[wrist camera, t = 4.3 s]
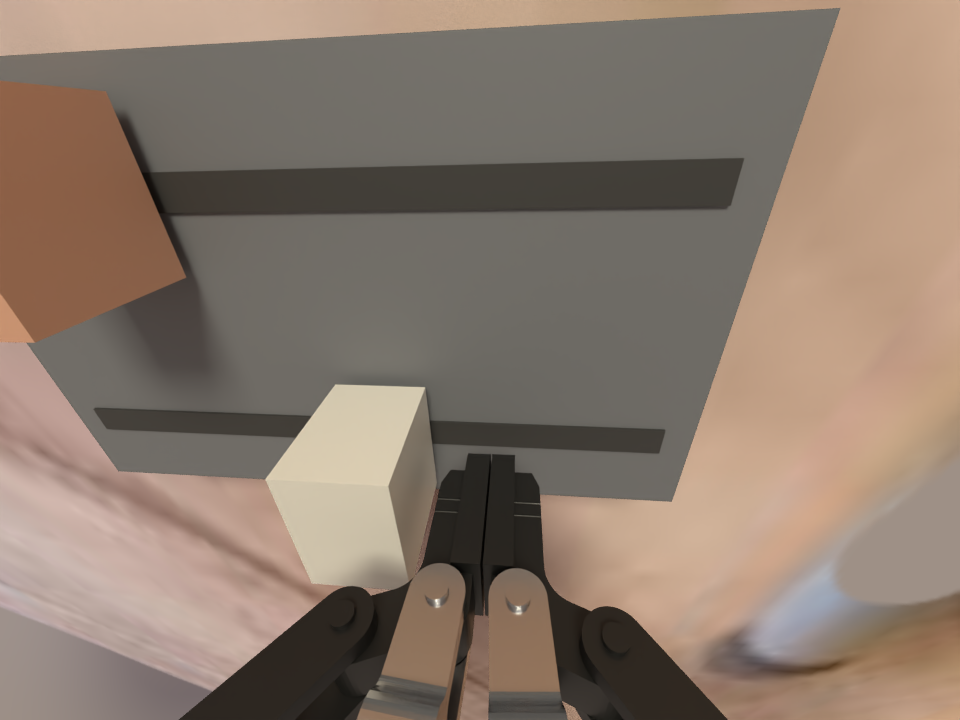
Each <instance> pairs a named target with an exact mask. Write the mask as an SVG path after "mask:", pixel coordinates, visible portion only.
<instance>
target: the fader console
mask: <svg viewBox="0 0 960 720" xmlns="http://www.w3.org/2000/svg"><path fill="white" fill-rule="evenodd" d="M839 11H840V8H833V9H816V10H798V11H781V12H763V13H746V14H728V15H711V16H693V17H676V18H658V19H641V20H623V21H606V22H588V23H571V24H553V25H536V26H518V27H501V28H483V29H466V30H448V31H431V32H413V33H396V34H378V35H361V36H343V37H326V38H308V39H291V40H273V41H256V42H238V43H221V44H203V45H186V46H168V47H151V48H133V49H116V50H98V51H81V52H63V53H46V54H28V55H11V56H0V81H9V82H19V83H29V84H39V85H49V86H58V87H68V88H78V89H88V90H98V91H106V93H107V95H108V97H109V99H110V102H111V104H112V106H113V109H114V111H115V113H116V116H117V118H118V120H119V123H120V125H121V127H122V130H123V132H124V134H125V137H126V139H127V141H128V143H129V146H130V148H131V150H132V153H133V155H134V157H135V160H136V162H137V164H138V167H139V169H140V171H141V174H142V176H143V178H144V180H145V183H146V185H147V187H148V190H149V192H150V194H151V197H152V199H153V201H154V204H155V206H156V208H157V211H158V213H159V215H160V218H161V220H162V222H163V224H164V227H165V229H166V231H167V234H168V236H169V238H170V241H171V243H172V245H173V248H174V250H175V252H176V255H177V257H178V259H179V261H180V264H181V266H182V268H183V271H184V273H185V275H186V278H184V279H182V280H179V281H177V282H175V283H172V284H170V285H168V286H165V287H163V288H161V289H158V290H156V291H154V292H151V293H149V294H147V295H144V296H142V297H140V298H138V299H135V300H133V301H131V302H128V303H126V304H124V305H121V306H119V307H117V308H114V309H112V310H110V311H107V312H105V313H103V314H100V315H98V316H96V317H93V318H91V319H89V320H86V321H84V322H82V323H79V324H77V325H75V326H73V327H70V328H68V329H66V330H63V331H61V332H59V333H56V334H54V335H52V336H49V337H47V338H45V339H42V340H40V341H38V342H35V343H27V342H26V343H27V344H28V346H29V347H30V348H31V350H32V351H33V353H34V354H35V355H36V357H37V358H38V360H39V361H40V362H41V364H42V365H43V367H44V368H45V369H46V371H47V372H48V374H49V375H50V376H51V378H52V379H53V380H54V382H55V383H56V385H57V386H58V387H59V389H60V390H61V392H62V393H63V394H64V396H65V397H66V399H67V400H68V401H69V403H70V404H71V406H72V407H73V408H74V410H75V411H76V413H77V414H78V415H79V417H80V418H81V420H82V421H83V422H84V424H85V425H86V427H87V428H88V429H89V431H90V432H91V433H92V435H93V436H94V438H95V439H96V440H97V442H98V443H99V445H100V446H101V447H102V449H103V450H104V452H105V453H106V454H107V456H108V457H109V459H110V460H111V461H112V463H113V464H114V466H115V467H116V468H117V470H118V471H125V472H143V473H161V474H179V475H198V476H216V477H234V478H252V479H266V478H267V476H268V475H269V474H270V472H271V471H272V470H273V468H274V467H275V466H276V464H277V463H278V461H279V460H280V459H281V457H282V456H283V455H284V453H285V452H286V451H287V449H288V448H289V447H290V445H291V444H292V443H293V441H294V440H295V438H296V437H297V436H298V434H299V433H300V432H301V430H302V429H303V428H304V426H305V425H306V424H307V422H308V421H309V419H310V418H311V417H312V415H313V414H314V413H315V411H316V410H317V409H318V407H319V406H320V405H321V403H322V402H323V401H324V399H325V398H326V396H327V395H328V394H329V392H330V391H331V390H332V388H333V387H334V386H335V384H336V385H369V386H402V387H425V389H426V397H427V406H428V414H429V422H430V430H431V438H432V447H433V455H434V463H435V471H436V480H437V484H436V489H440V486H441V482H442V481H443V479H444V478H445V477H446V475H447V474H448V473H449V471H450V470H465V467H466V461H467V455H468V453H473V454H491V463H492V454H501V455H515V472H519V473H532V474H533V476H534V478H535V480H536V482H537V483H538V485H539V488H540V494H542V495H560V496H579V497H597V498H615V499H633V500H651V501H669V502H672V499H673V496H674V494H675V491H676V488H677V485H678V482H679V479H680V476H681V473H682V470H683V467H684V464H685V461H686V458H687V455H688V453H689V450H690V447H691V444H692V441H693V438H694V435H695V432H696V429H697V426H698V423H699V420H700V417H701V415H702V412H703V409H704V406H705V403H706V400H707V397H708V394H709V391H710V388H711V385H712V382H713V379H714V376H715V374H716V371H717V368H718V365H719V362H720V359H721V356H722V353H723V350H724V347H725V344H726V341H727V338H728V336H729V333H730V330H731V327H732V324H733V321H734V318H735V315H736V312H737V309H738V306H739V303H740V300H741V297H742V295H743V292H744V289H745V286H746V283H747V280H748V277H749V274H750V271H751V268H752V265H753V262H754V259H755V257H756V254H757V251H758V248H759V245H760V242H761V239H762V236H763V233H764V230H765V227H766V224H767V221H768V218H769V216H770V213H771V210H772V207H773V204H774V201H775V198H776V195H777V192H778V189H779V186H780V183H781V180H782V178H783V175H784V172H785V169H786V166H787V163H788V160H789V157H790V154H791V151H792V148H793V145H794V142H795V139H796V137H797V134H798V131H799V128H800V125H801V122H802V119H803V116H804V113H805V110H806V107H807V104H808V101H809V99H810V96H811V93H812V90H813V87H814V84H815V81H816V78H817V75H818V72H819V69H820V66H821V63H822V60H823V58H824V55H825V52H826V49H827V46H828V43H829V40H830V37H831V34H832V31H833V28H834V25H835V22H836V20H837V17H838V14H839Z"/></svg>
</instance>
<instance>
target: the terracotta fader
mask: <svg viewBox="0 0 960 720" xmlns="http://www.w3.org/2000/svg"><path fill="white" fill-rule="evenodd" d="M184 278H186V275H185V273H184V271H183V268H182V266H181V264H180V261H179V259H178V257H177V255H176V252H175V250H174V248H173V245H172V243H171V241H170V238H169V236H168V234H167V231H166V229H165V227H164V224H163V222H162V220H161V218H160V215H159V213H158V211H157V208H156V206H155V204H154V201H153V199H152V197H151V194H150V192H149V190H148V187H147V185H146V183H145V180H144V178H143V176H142V174H141V171H140V169H139V167H138V164H137V162H136V160H135V157H134V155H133V153H132V150H131V148H130V146H129V143H128V141H127V139H126V137H125V134H124V132H123V130H122V127H121V125H120V123H119V120H118V118H117V116H116V113H115V111H114V109H113V106H112V104H111V102H110V99H109V97H108V95H107V93H106V91H98V90H88V89H78V88H68V87H58V86H49V85H39V84H29V83H19V82H9V81H0V342H27V343H35V342H38V341H40V340H42V339H45V338H47V337H49V336H52V335H54V334H56V333H59V332H61V331H63V330H66V329H68V328H70V327H73V326H75V325H77V324H79V323H82V322H84V321H86V320H89V319H91V318H93V317H96V316H98V315H100V314H103V313H105V312H107V311H110V310H112V309H114V308H117V307H119V306H121V305H124V304H126V303H128V302H131V301H133V300H135V299H138V298H140V297H142V296H144V295H147V294H149V293H151V292H154V291H156V290H158V289H161V288H163V287H165V286H168V285H170V284H172V283H175V282H177V281H179V280H182V279H184Z"/></svg>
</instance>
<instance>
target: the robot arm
mask: <svg viewBox="0 0 960 720" xmlns="http://www.w3.org/2000/svg"><path fill="white" fill-rule="evenodd" d="M484 597H485V615H486V616H489V715H488V720H568V719H567V715H566V711H565V708H564V706H563V703H562V701H564V702H565V703H567V704H569V705H571V706H573V707H575V708H576V710H577V712H578V714H579V715H580V717H581V718H582V720H727V718H726V717H725V716H724V715H723V714H722V713H721V712H720V711H719V710H718V709H717V708H716V707H715V705H714V704H713V703H712V702H711V701H710V700H709V699H708V698H707V697H706V696H705V695H704V694H703V692H702V691H701V690H700V689H699V688H698V687H697V686H696V685H695V684H694V683H693V682H692V681H691V680H690V678H689V677H688V676H687V675H686V674H685V673H684V672H683V671H682V670H681V669H680V668H679V667H678V665H677V664H676V663H675V662H674V661H673V660H672V659H671V658H670V657H669V656H668V655H667V654H666V653H665V651H664V650H663V649H662V648H661V647H660V646H659V645H658V644H657V643H656V642H655V641H654V640H653V638H652V637H651V636H650V635H649V634H648V633H647V632H646V631H645V630H644V629H643V628H642V627H641V625H640V624H639V623H638V622H637V621H636V620H635V619H634V618H633V617H632V616H630V615H629V614H628V613H626V612H624V611H622V610H620V609H618V608H615V607H608V606H604V607H599V608H596V609H594V610H593V611H589V610H587V609H585V608H582V607H580V606H578V605H575V604H573V603H571V602H569V601H567V600H565V599H564V598H562V597H561V596H559V595H558V594H557V593H556V592H555V591H554V589H553V588H552V587H551V585H550V584H549V582H548V580H547V578H546V575H545V571H544V560H543V542H542V524H541V506H540V488H539V485H538V483H537V482H536V480H535V478H534V476H533V474H532V473H519V472H515V455H501V454H492V463H491V454H473V453H468V455H467V461H466V467H465V470H450V471H449V473H448V474H447V475H446V477H445V478H444V479H443V481H442V482H441V486H440V490H439V494H438V500H437V503H436V508H435V513H434V517H433V521H432V525H431V530H430V534H429V539H428V543H427V548H426V552H425V556H424V560H423V564H422V566H421V568H420V570H419V571H418V573H417V574H416V575H415V576H414V577H413V578H412V579H411V580H410V581H409V582H408V583H406V584H405V585H403V586H401V587H399V588H396V589H394V590H390V591H386V592H383V593H379V594H376V595H372V596H370V594H369V593H368V592H367V591H366V590H364V589H363V588H360V587H357V586H347V587H343V588H340V589H338V590H336V591H334V592H333V593H331V594H330V595H328V596H327V597H326V598H325V599H324V600H322V601H321V602H320V603H319V604H318V605H316V606H315V607H314V608H313V609H312V610H310V611H309V612H308V613H307V614H306V615H304V616H303V617H302V618H301V619H300V620H298V621H297V622H296V623H295V624H294V625H292V626H291V627H290V628H289V629H287V630H286V631H285V632H284V633H283V634H281V635H280V636H279V637H278V638H277V639H275V640H274V641H273V642H272V643H271V644H269V645H268V646H267V647H266V648H265V649H263V650H262V651H261V652H260V653H259V654H257V655H256V656H255V657H254V658H253V659H251V660H250V661H249V662H248V663H247V664H245V665H244V666H243V667H242V668H241V669H239V670H238V671H237V672H236V673H234V674H233V675H232V676H231V677H230V678H228V679H227V680H226V681H225V682H224V683H222V684H221V685H220V686H219V687H218V688H216V689H215V690H214V691H213V692H212V693H210V694H209V695H208V696H207V697H206V698H205V699H203V700H202V701H201V702H200V703H198V704H197V705H196V706H195V707H194V708H192V709H191V710H190V711H189V712H188V713H186V714H185V715H184V716H183V717H182V718H180V719H179V720H459V719H460V713H461V707H462V701H463V694H464V688H465V682H466V676H467V669H468V663H469V657H470V651H471V643H472V637H473V626H474V615H483V610H484Z"/></svg>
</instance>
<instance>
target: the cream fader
mask: <svg viewBox="0 0 960 720" xmlns="http://www.w3.org/2000/svg"><path fill="white" fill-rule="evenodd" d="M265 480H266V482H267V484H268V487H269V489H270V491H271V493H272V495H273V498H274V500H275V502H276V504H277V507H278V509H279V511H280V513H281V516H282V518H283V520H284V522H285V524H286V527H287V529H288V531H289V533H290V536H291V538H292V540H293V542H294V545H295V547H296V549H297V551H298V553H299V556H300V558H301V560H302V562H303V565H304V567H305V569H306V571H307V574H308V576H309V578H310V580H311V582H312V583H314V584H326V585H338V586H357V587H363V588H375V589H388V590H394V589H396V588H399V587H401V586H403V585H405V584H406V583H408V582H409V581H410V580H411V579H412V578H413V577H414V576H415V572H416V568H417V564H418V560H419V555H420V551H421V547H422V543H423V539H424V535H425V530H426V526H427V522H428V518H429V514H430V510H431V505H432V501H433V497H434V493H435V489H436V484H437V480H436V471H435V463H434V455H433V447H432V438H431V430H430V422H429V414H428V406H427V397H426V389H425V387H402V386H369V385H336V384H335V386H334V387H333V388H332V390H331V391H330V392H329V394H328V395H327V396H326V398H325V399H324V401H323V402H322V403H321V405H320V406H319V407H318V409H317V410H316V411H315V413H314V414H313V415H312V417H311V418H310V419H309V421H308V422H307V424H306V425H305V426H304V428H303V429H302V430H301V432H300V433H299V434H298V436H297V437H296V438H295V440H294V441H293V443H292V444H291V445H290V447H289V448H288V449H287V451H286V452H285V453H284V455H283V456H282V457H281V459H280V460H279V461H278V463H277V464H276V466H275V467H274V468H273V470H272V471H271V472H270V474H269V475H268V476H267V478H266V479H265Z"/></svg>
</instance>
